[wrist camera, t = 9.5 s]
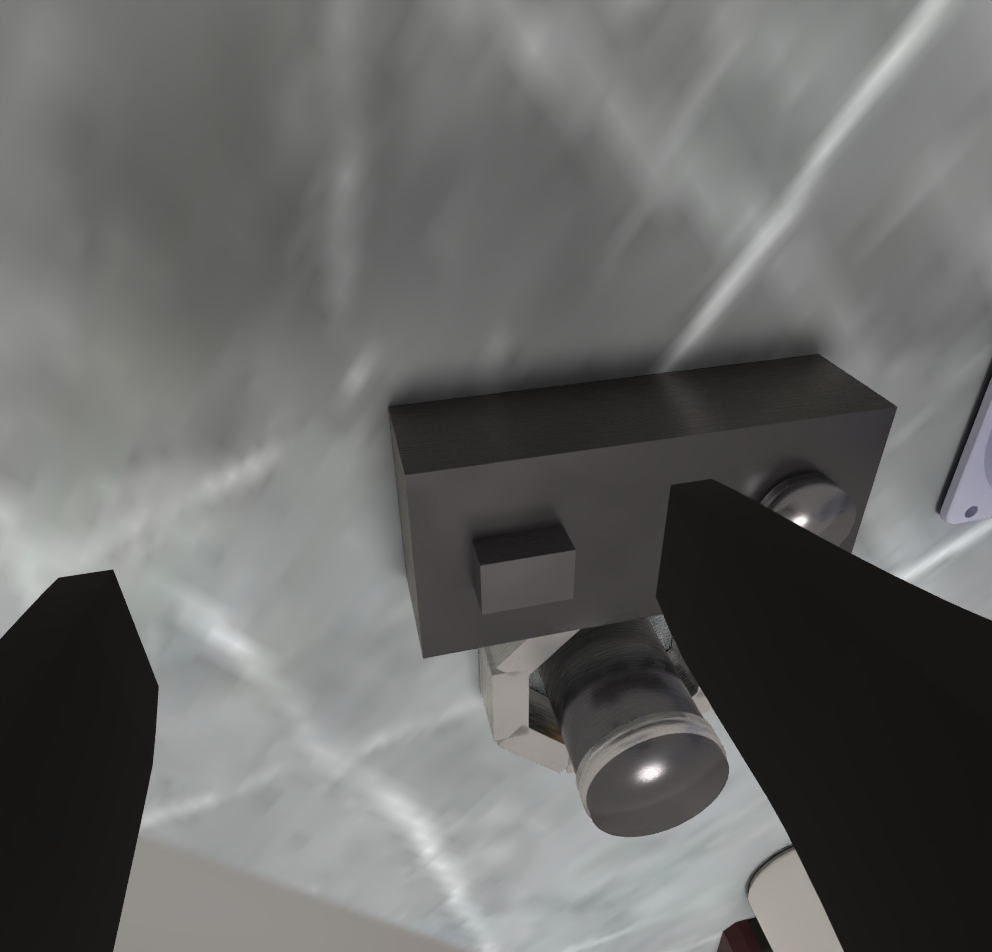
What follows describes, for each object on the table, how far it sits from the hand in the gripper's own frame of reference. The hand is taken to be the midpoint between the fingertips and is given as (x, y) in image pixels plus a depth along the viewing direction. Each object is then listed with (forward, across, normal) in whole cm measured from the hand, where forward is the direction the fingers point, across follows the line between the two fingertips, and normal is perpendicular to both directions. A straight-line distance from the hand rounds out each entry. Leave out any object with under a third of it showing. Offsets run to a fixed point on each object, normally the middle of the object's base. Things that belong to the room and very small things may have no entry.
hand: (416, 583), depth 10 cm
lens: (+10, -7, +14) cm, 18 cm away
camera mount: (+10, -7, +10) cm, 16 cm away
